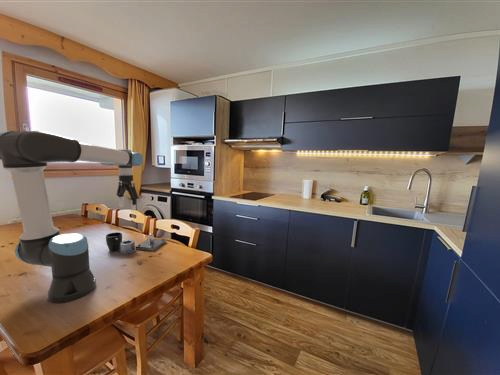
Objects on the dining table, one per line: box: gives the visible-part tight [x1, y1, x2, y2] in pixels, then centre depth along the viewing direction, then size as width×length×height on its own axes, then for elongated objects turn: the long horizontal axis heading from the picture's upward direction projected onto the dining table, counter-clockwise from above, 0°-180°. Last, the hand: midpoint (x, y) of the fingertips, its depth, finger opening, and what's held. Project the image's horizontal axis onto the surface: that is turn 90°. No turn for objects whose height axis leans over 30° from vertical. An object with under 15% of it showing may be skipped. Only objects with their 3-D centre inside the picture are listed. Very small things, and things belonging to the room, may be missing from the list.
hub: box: [119, 239, 136, 256], centre depth 123 cm, size 7×7×6 cm
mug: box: [105, 231, 123, 252], centre depth 124 cm, size 8×12×10 cm
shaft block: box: [135, 232, 167, 252], centre depth 132 cm, size 14×12×8 cm
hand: (127, 208), depth 130 cm, fingers open, 13 cm apart
